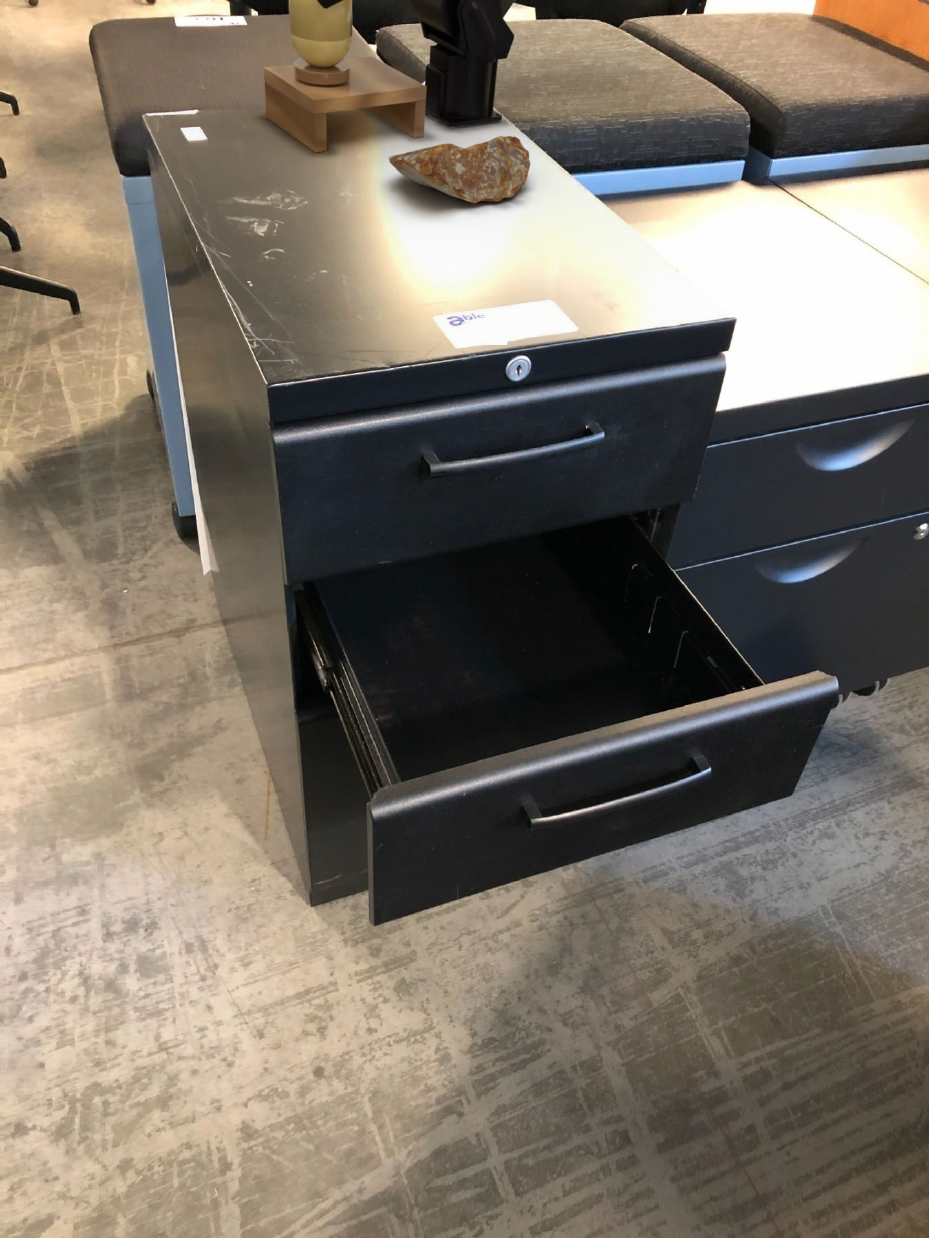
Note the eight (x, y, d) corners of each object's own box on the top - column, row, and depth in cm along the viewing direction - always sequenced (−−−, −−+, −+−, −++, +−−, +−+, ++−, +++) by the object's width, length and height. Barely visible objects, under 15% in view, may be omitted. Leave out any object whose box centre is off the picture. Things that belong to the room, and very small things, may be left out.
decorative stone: (364, 126, 81) (479, 116, 90) (359, 181, 83) (472, 166, 93) (448, 159, 76) (559, 145, 86) (440, 216, 79) (549, 196, 89)
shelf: (371, 105, 100) (372, 56, 97) (424, 136, 95) (426, 86, 92) (266, 118, 95) (263, 67, 92) (315, 152, 89) (314, 100, 86)
